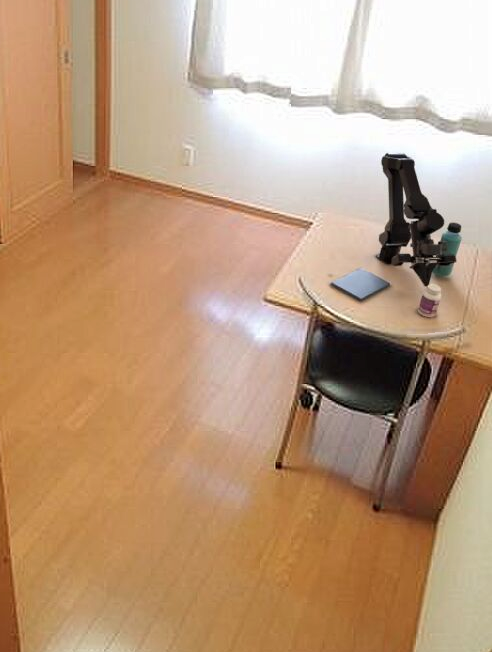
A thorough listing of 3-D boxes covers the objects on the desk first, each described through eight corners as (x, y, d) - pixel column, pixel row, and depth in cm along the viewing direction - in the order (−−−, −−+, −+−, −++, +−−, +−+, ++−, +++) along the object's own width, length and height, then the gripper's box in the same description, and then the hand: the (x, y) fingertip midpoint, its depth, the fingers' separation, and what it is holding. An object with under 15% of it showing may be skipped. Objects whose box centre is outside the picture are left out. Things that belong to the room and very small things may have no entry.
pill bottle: (433, 319, 203) (441, 294, 198) (415, 314, 205) (423, 288, 200) (436, 311, 207) (445, 286, 202) (419, 306, 209) (427, 280, 204)
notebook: (360, 270, 227) (360, 267, 226) (389, 286, 219) (390, 283, 218) (330, 285, 218) (331, 282, 218) (360, 301, 210) (361, 298, 210)
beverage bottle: (452, 275, 226) (469, 224, 215) (445, 282, 221) (461, 231, 211) (434, 268, 229) (449, 217, 219) (426, 275, 225) (441, 224, 215)
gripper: (403, 231, 201) (409, 280, 198) (462, 231, 202) (469, 280, 198) (388, 241, 212) (393, 288, 208) (444, 241, 213) (450, 288, 209)
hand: (426, 286), depth 206 cm, fingers closed
